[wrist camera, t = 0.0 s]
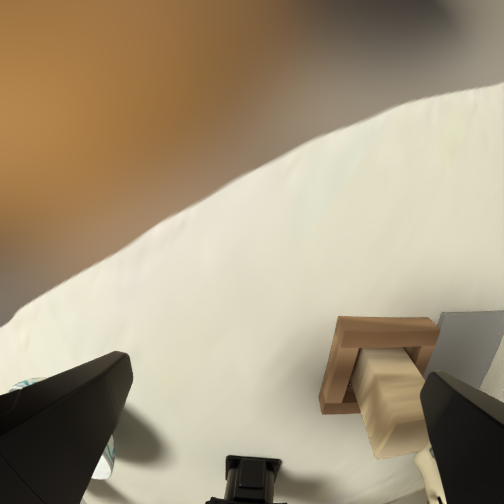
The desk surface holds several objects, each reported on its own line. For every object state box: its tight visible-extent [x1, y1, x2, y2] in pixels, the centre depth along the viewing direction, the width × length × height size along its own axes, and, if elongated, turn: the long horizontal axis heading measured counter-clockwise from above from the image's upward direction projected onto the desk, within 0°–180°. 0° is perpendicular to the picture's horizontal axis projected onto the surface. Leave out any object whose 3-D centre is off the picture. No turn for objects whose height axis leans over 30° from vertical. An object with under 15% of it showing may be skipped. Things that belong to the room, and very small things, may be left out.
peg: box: [350, 347, 430, 459], centre depth 18 cm, size 4×4×10 cm
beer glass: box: [414, 443, 447, 504], centre depth 20 cm, size 7×7×15 cm
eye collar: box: [319, 316, 441, 414], centre depth 22 cm, size 9×9×2 cm
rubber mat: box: [423, 311, 504, 389], centre depth 23 cm, size 14×11×1 cm
